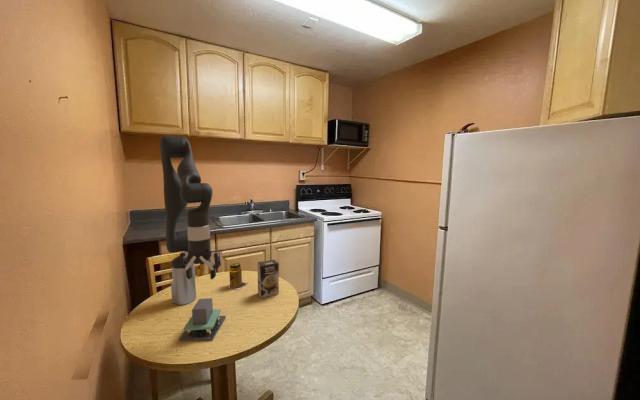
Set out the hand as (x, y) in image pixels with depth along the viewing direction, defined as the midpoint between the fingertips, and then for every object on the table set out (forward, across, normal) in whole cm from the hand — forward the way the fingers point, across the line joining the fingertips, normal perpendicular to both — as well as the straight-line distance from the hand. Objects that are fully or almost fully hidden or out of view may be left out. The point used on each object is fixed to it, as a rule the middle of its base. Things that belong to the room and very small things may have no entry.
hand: (201, 278), depth 100 cm
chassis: (+20, 0, 0) cm, 21 cm away
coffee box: (+21, +20, +28) cm, 40 cm away
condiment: (+21, +2, +37) cm, 42 cm away
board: (+17, 0, 0) cm, 17 cm away
